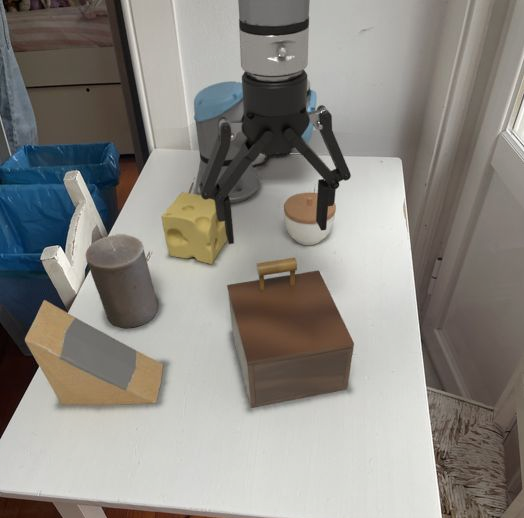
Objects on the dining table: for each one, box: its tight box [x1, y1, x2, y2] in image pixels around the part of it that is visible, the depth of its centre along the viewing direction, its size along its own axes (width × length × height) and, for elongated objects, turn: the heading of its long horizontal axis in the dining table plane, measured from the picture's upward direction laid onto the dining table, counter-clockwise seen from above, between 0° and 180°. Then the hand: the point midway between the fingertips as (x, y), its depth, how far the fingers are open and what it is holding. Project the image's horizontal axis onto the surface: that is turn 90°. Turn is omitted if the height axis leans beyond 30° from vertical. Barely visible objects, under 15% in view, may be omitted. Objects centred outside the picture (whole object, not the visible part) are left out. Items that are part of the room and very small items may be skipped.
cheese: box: [161, 191, 228, 265], centre depth 101 cm, size 10×11×10 cm
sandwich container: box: [24, 299, 164, 406], centre depth 73 cm, size 9×15×15 cm, turn 90°
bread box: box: [227, 292, 354, 409], centre depth 78 cm, size 17×16×10 cm
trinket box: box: [283, 192, 337, 246], centre depth 102 cm, size 11×11×9 cm
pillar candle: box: [85, 233, 159, 329], centre depth 86 cm, size 10×10×15 cm
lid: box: [226, 257, 355, 366], centre depth 72 cm, size 17×16×6 cm
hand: (275, 232), depth 70 cm, fingers open, 13 cm apart
